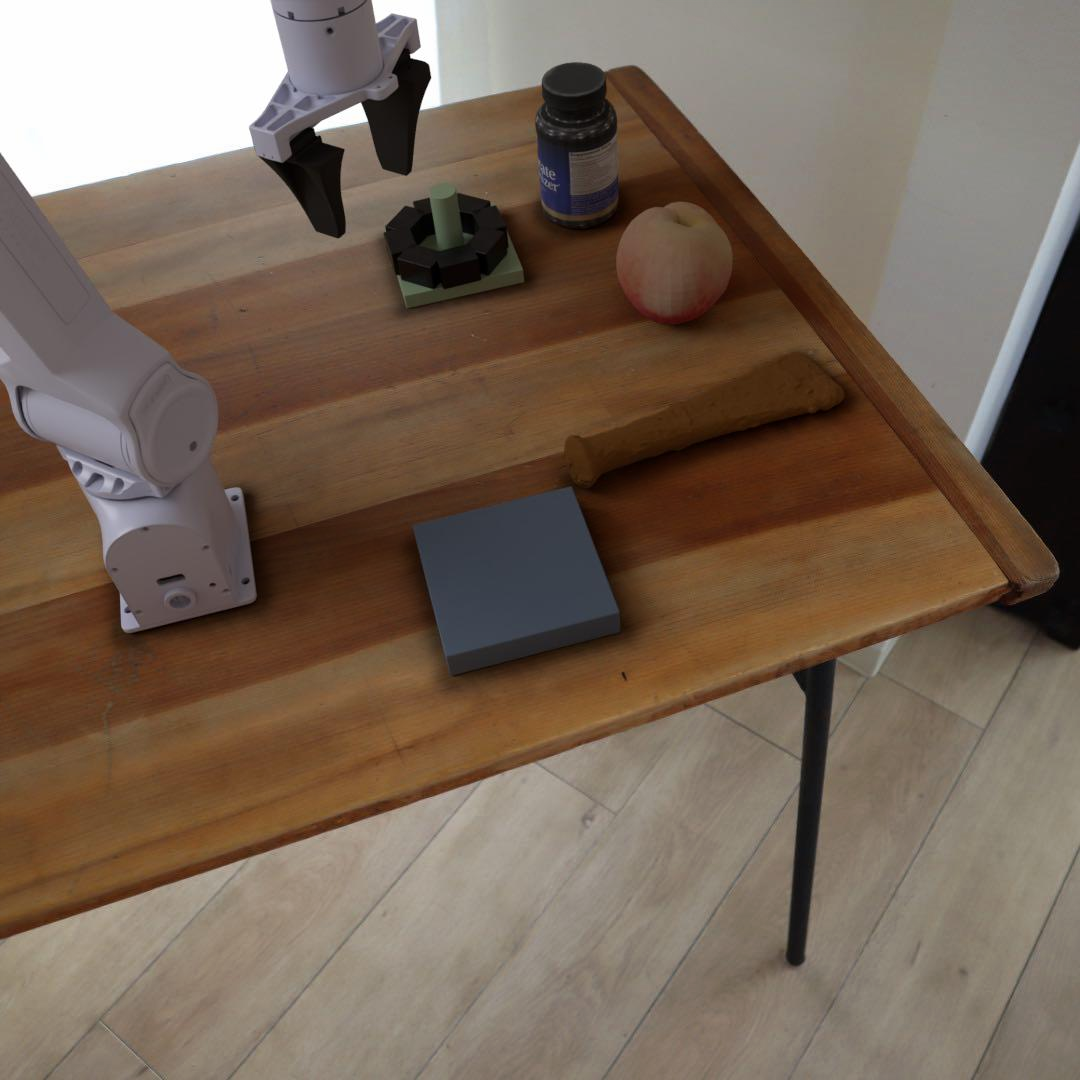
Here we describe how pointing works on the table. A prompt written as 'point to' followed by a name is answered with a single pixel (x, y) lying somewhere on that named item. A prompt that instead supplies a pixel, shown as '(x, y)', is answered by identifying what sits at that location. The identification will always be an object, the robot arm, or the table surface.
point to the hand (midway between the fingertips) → (364, 200)
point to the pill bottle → (577, 146)
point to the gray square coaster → (515, 580)
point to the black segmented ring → (453, 262)
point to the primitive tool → (707, 416)
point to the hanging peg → (452, 236)
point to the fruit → (674, 262)
